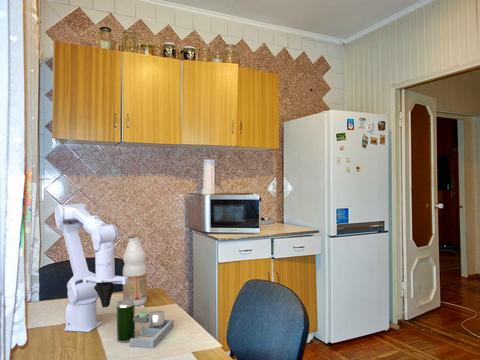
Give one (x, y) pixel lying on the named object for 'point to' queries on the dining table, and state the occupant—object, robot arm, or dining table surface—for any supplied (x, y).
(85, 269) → the robot arm
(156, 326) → the metal billet
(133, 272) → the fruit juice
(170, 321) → the grey piece
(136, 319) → the button housing
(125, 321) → the beer can
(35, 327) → the dining table surface
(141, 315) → the button
